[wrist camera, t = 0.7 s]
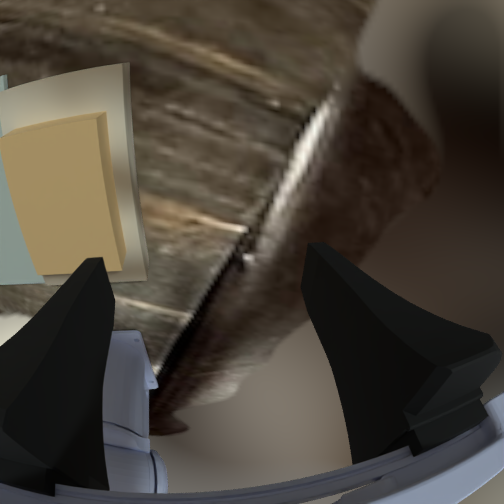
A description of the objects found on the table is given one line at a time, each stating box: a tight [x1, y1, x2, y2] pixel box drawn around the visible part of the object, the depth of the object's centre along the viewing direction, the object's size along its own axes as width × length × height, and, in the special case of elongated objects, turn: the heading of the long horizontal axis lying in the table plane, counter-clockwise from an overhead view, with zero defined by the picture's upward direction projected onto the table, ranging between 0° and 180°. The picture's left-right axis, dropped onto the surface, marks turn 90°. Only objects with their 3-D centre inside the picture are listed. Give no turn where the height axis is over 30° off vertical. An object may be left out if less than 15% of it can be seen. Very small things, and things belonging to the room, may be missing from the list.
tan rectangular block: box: [0, 111, 127, 275], centre depth 16 cm, size 9×6×2 cm, turn 178°
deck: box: [0, 62, 149, 285], centre depth 17 cm, size 14×8×2 cm, turn 178°
